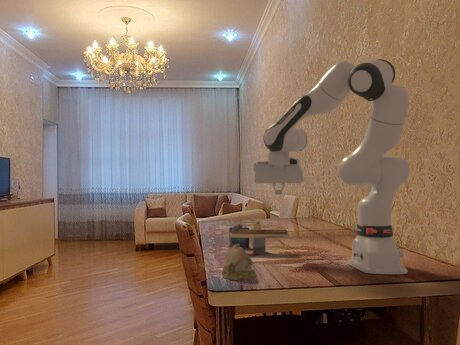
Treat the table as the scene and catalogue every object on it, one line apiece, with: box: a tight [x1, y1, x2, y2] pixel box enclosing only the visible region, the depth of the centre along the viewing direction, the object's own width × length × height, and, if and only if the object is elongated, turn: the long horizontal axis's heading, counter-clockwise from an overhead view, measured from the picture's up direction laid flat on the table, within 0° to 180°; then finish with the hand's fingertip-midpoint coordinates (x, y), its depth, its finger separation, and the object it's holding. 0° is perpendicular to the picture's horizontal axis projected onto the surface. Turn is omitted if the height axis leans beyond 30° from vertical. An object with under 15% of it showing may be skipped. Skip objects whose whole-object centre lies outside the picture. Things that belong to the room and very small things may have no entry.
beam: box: [230, 225, 290, 255], centre depth 168 cm, size 6×24×11 cm, turn 86°
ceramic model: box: [221, 244, 257, 281], centre depth 130 cm, size 14×11×10 cm
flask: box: [228, 222, 250, 249], centre depth 182 cm, size 9×3×11 cm, turn 73°
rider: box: [253, 220, 262, 231], centre depth 168 cm, size 3×3×5 cm
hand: (278, 194), depth 168 cm, fingers closed
